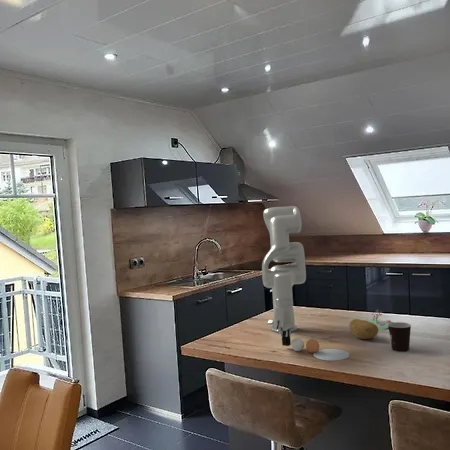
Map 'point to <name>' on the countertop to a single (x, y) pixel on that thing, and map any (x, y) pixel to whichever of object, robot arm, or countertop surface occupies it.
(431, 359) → the countertop surface
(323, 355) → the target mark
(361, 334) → the potato
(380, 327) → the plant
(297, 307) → the countertop surface
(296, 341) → the cue ball
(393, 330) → the coffee mug
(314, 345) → the object ball
